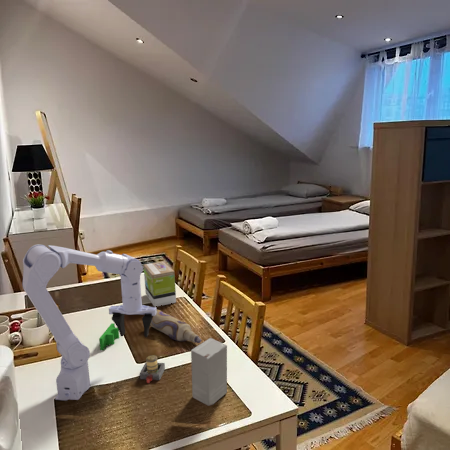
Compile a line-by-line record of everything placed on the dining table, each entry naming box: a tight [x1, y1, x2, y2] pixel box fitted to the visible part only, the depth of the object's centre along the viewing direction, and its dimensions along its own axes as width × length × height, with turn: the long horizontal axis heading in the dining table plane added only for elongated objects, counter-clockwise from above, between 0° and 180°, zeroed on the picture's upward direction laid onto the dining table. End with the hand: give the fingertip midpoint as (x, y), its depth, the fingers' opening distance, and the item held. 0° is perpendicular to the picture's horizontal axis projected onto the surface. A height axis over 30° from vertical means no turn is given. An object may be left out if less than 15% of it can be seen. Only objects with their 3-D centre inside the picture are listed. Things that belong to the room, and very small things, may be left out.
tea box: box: [142, 260, 177, 308], centre depth 182 cm, size 15×10×15 cm
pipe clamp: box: [98, 322, 120, 351], centre depth 148 cm, size 11×4×5 cm, turn 173°
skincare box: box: [190, 337, 228, 407], centre depth 115 cm, size 8×7×16 cm
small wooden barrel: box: [145, 354, 159, 373], centre depth 127 cm, size 3×3×5 cm
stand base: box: [139, 362, 166, 384], centre depth 127 cm, size 10×10×3 cm
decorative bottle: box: [150, 309, 202, 344], centre depth 150 cm, size 26×8×7 cm, turn 45°
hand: (134, 335), depth 131 cm, fingers open, 7 cm apart
